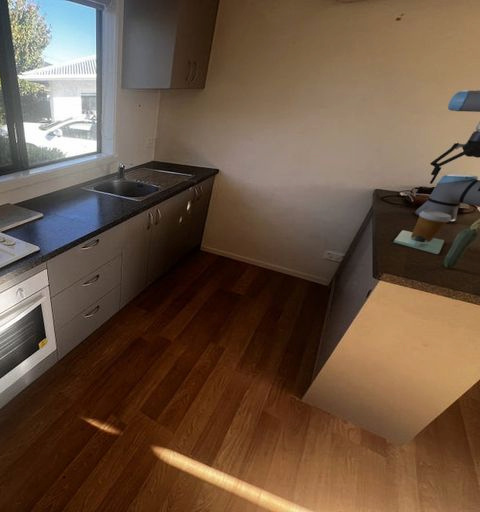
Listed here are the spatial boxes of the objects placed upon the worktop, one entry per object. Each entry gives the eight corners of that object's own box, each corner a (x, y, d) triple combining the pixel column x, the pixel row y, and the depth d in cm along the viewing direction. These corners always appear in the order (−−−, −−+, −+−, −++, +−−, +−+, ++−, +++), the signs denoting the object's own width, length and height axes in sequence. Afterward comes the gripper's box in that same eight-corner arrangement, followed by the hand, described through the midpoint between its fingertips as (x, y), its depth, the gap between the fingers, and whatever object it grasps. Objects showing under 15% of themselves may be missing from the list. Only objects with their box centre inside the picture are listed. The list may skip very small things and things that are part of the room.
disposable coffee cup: (441, 244, 125) (459, 218, 119) (416, 242, 126) (432, 216, 120) (424, 235, 133) (440, 210, 127) (400, 233, 135) (415, 208, 129)
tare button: (414, 238, 126) (417, 235, 125) (424, 241, 124) (426, 237, 123) (413, 240, 124) (416, 237, 123) (423, 243, 122) (425, 239, 121)
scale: (401, 232, 139) (404, 226, 137) (442, 242, 129) (447, 236, 128) (393, 242, 128) (396, 236, 127) (437, 254, 119) (442, 248, 118)
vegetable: (449, 271, 108) (486, 221, 98) (434, 265, 111) (468, 217, 101) (455, 269, 109) (491, 220, 99) (439, 263, 113) (473, 215, 103)
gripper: (440, 128, 115) (411, 181, 126) (545, 135, 98) (501, 195, 109) (443, 127, 119) (414, 178, 130) (543, 134, 103) (501, 192, 113)
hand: (454, 186), depth 120 cm, fingers open, 13 cm apart
